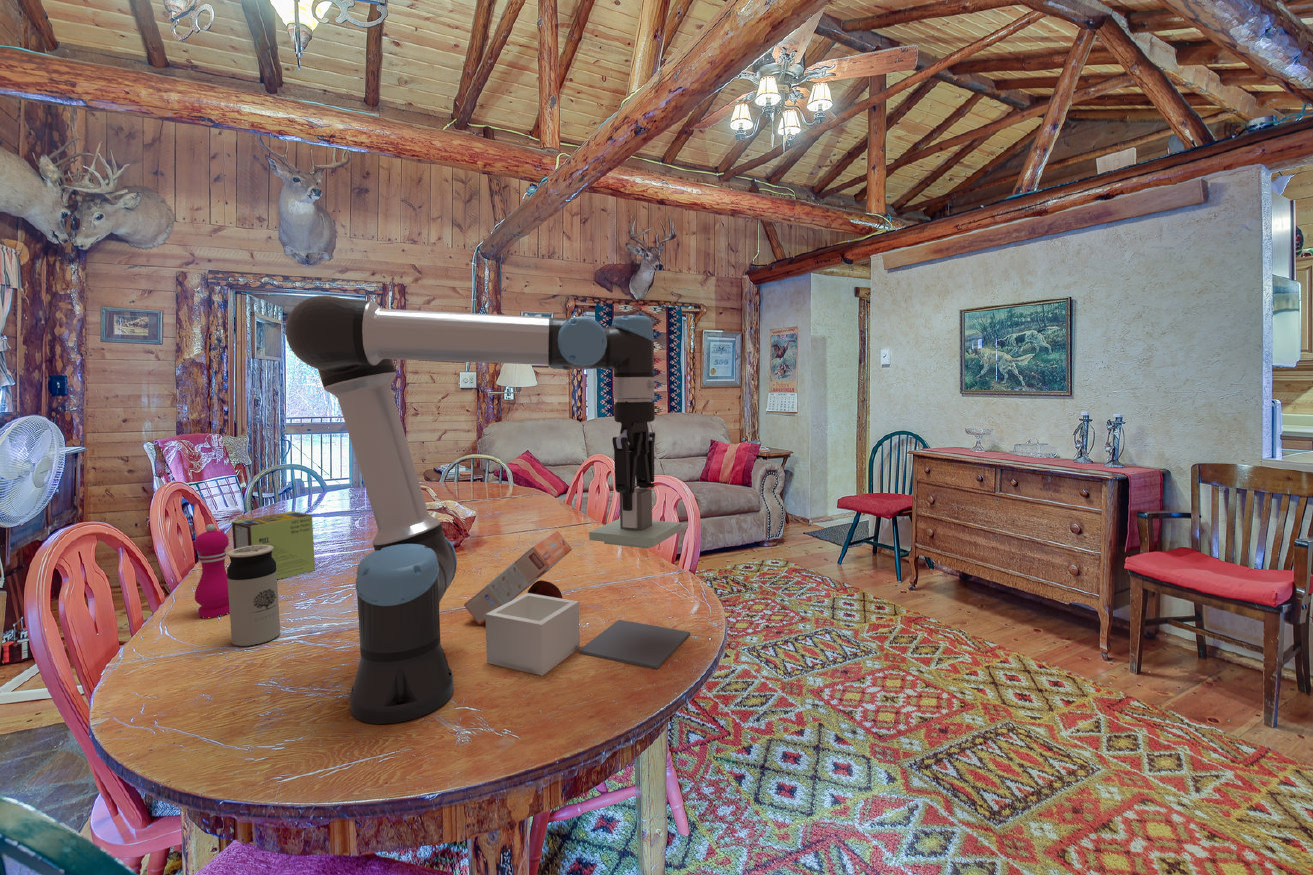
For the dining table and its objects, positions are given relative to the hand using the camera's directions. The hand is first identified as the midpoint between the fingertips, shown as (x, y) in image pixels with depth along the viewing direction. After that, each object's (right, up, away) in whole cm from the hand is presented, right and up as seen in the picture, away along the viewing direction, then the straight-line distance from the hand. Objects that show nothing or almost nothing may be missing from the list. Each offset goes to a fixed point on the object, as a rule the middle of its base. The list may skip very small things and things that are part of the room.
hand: (636, 523), depth 112 cm
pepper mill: (-93, -23, +19) cm, 98 cm away
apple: (-20, -23, +15) cm, 34 cm away
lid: (0, -3, 0) cm, 3 cm away
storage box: (-19, -24, -3) cm, 30 cm away
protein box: (-98, -21, +46) cm, 110 cm away
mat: (0, -23, +2) cm, 23 cm away
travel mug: (-75, -24, +5) cm, 79 cm away
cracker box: (-33, -20, +18) cm, 43 cm away
